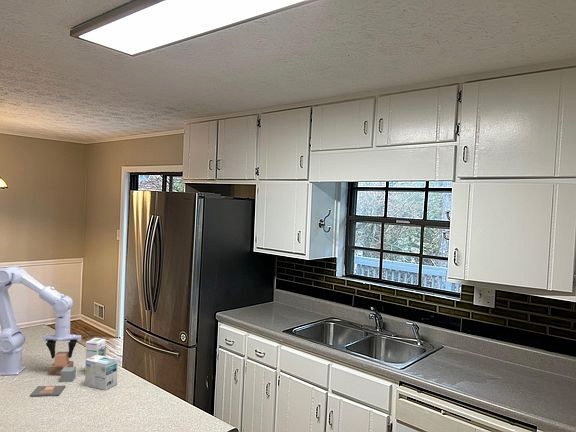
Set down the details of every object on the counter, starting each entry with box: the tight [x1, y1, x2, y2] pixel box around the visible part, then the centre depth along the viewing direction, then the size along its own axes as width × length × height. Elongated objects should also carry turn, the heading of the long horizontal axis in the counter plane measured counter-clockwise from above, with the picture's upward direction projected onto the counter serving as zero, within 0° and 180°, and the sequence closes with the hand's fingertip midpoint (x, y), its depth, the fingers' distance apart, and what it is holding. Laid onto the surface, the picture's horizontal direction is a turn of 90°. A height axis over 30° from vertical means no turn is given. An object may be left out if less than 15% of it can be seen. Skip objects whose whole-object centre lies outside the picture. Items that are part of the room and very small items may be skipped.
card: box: [29, 385, 66, 398], centre depth 169 cm, size 10×8×1 cm
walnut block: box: [48, 360, 74, 377], centre depth 187 cm, size 7×7×4 cm
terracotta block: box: [53, 351, 70, 366], centre depth 187 cm, size 4×4×4 cm
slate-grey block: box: [59, 366, 77, 383], centre depth 180 cm, size 4×4×4 cm
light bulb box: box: [84, 355, 119, 391], centre depth 177 cm, size 11×7×11 cm, turn 71°
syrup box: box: [85, 337, 107, 360], centre depth 188 cm, size 6×6×14 cm
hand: (61, 357), depth 187 cm, fingers open, 6 cm apart
